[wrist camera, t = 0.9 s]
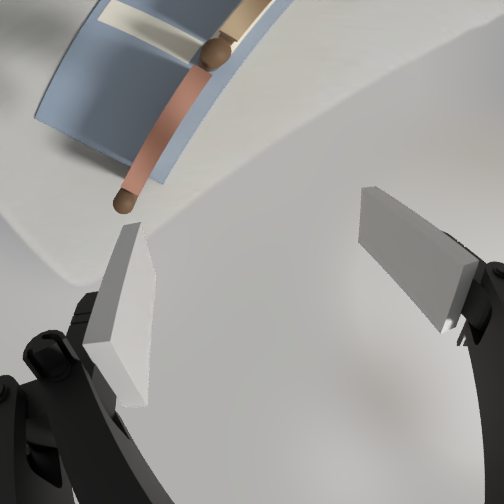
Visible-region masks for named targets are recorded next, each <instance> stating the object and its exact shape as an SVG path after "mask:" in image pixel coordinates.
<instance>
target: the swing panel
mask: <svg viewBox="0 0 504 504" xmlns="http://www.w3.org/2000/svg"><path fill="white" fill-rule="evenodd" d="M211 77H212V74H210V73H209V72H207V71H205V70H203V69H202V68H200V67H198V66H197V65H195V64H194V65H193V66H192V68H191V69H190V70H189V72H188V73H187V75H186V76H185V78H184V79H183V81H182V82H181V84H180V85H179V87H178V88H177V90H176V91H175V93H174V94H173V96H172V97H171V99H170V101H169V102H168V104H167V105H166V107H165V108H164V110H163V112H162V113H161V115H160V117H159V118H158V120H157V122H156V123H155V125H154V127H153V128H152V130H151V132H150V133H149V135H148V137H147V139H146V140H145V142H144V144H143V146H142V148H141V149H140V151H139V153H138V155H137V157H136V158H135V160H134V162H133V164H132V166H131V168H130V170H129V172H128V174H127V176H126V178H125V179H124V181H123V183H122V185H121V189H120V190H119V192H118V193H117V195H116V197H115V198H114V200H113V207H114V209H115V210H116V211H117V212H118V213H120V214H127V213H129V212H131V211H132V209H133V207H134V205H135V202H136V200H137V198H138V196H139V194H140V192H141V190H142V188H143V187H144V185H145V183H146V181H147V179H148V177H149V176H150V174H151V172H152V170H153V168H154V167H155V165H156V163H157V161H158V160H159V158H160V156H161V155H162V153H163V151H164V149H165V148H166V146H167V144H168V143H169V141H170V139H171V138H172V136H173V134H174V133H175V131H176V130H177V128H178V126H179V125H180V123H181V122H182V120H183V118H184V117H185V115H186V114H187V112H188V111H189V109H190V108H191V106H192V105H193V103H194V102H195V100H196V99H197V97H198V96H199V94H200V93H201V91H202V90H203V88H204V87H205V85H206V84H207V82H208V81H209V80H210V78H211Z"/></svg>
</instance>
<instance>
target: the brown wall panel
mask: <svg viewBox="0 0 504 504" xmlns="http://www.w3.org/2000/svg"><path fill="white" fill-rule="evenodd" d="M271 1H272V0H244V1H243V2H242V3H241V4H240V6H239V7H238V8H237V9H236V10H235V12H234V13H233V14H232V15H231V16H230V18H229V19H228V20H227V21H226V22H225V24H224V25H223V26H222V27H221V29H220V30H219V32H220V35H219V36H218V38H213V39H210V40H208V41H207V42H205V43H204V45H203V46H202V49H201V53H200V56H199V60H198V63H199V66H200V68H202V69H203V70H205V71H207V72H212V71H215V70H217V69H218V68H219V67H220V66H222V65H223V64H224V63H225V62H227V61H228V60H229V58H230V56H231V52H232V50H231V45H232V44H233V43H234V42H238V40H239V39H240V38H241V37H242V35H243V34H244V33H245V32H246V30H247V29H248V28H249V27H250V25H251V24H252V23H253V22H254V21H255V19H256V18H257V17H258V16H259V15H260V13H261V12H262V11H263V10H264V9H265V8H266V6H267V5H268V4H269V3H270V2H271Z"/></svg>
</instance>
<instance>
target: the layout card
mask: <svg viewBox="0 0 504 504" xmlns="http://www.w3.org/2000/svg"><path fill="white" fill-rule="evenodd" d="M243 1H244V0H100V2H99V3H98V5H97V6H96V7H95V9H94V10H93V12H92V13H91V15H90V16H89V18H88V19H87V21H86V22H85V24H84V25H83V27H82V28H81V30H80V31H79V33H78V35H77V36H76V38H75V40H74V41H73V43H72V45H71V46H70V48H69V50H68V52H67V53H66V55H65V57H64V59H63V60H62V62H61V64H60V66H59V68H58V70H57V72H56V74H55V76H54V78H53V80H52V82H51V84H50V86H49V88H48V90H47V92H46V94H45V96H44V98H43V101H42V103H41V105H40V107H39V110H38V112H37V114H36V117H35V119H37V120H39V121H41V122H43V123H45V124H47V125H49V126H51V127H53V128H55V129H57V130H58V131H60V132H62V133H64V134H66V135H68V136H70V137H72V138H74V139H76V140H78V141H80V142H82V143H84V144H86V145H88V146H90V147H92V148H94V149H96V150H98V151H100V152H101V153H103V154H105V155H107V156H109V157H111V158H113V159H115V160H117V161H119V162H121V163H123V164H125V165H127V166H128V167H130V168H131V166H132V164H133V162H134V160H135V158H136V157H137V155H138V153H139V151H140V149H141V148H142V146H143V144H144V142H145V140H146V139H147V137H148V135H149V133H150V132H151V130H152V128H153V127H154V125H155V123H156V122H157V120H158V118H159V117H160V115H161V113H162V112H163V110H164V108H165V107H166V105H167V104H168V102H169V101H170V99H171V97H172V96H173V94H174V93H175V91H176V90H177V88H178V87H179V85H180V84H181V82H182V81H183V79H184V78H185V76H186V75H187V73H188V72H189V70H190V69H191V68H192V66H193V65H194V64H195V65H197V66H198V67H200V66H199V63H198V60H199V56H200V53H201V49H202V46H203V45H204V43H205V42H207V41H208V40H210V39H213V38H218V36H219V35H220V32H219V30H220V29H221V27H222V26H223V25H224V24H225V22H226V21H227V20H228V19H229V18H230V16H231V15H232V14H233V13H234V12H235V10H236V9H237V8H238V7H239V6H240V4H241V3H242V2H243ZM293 1H294V0H272V1H271V2H270V3H269V4H268V5H267V6H266V8H265V9H264V10H263V11H262V12H261V13H260V15H259V16H258V17H257V18H256V19H255V21H254V22H253V23H252V24H251V25H250V27H249V28H248V29H247V30H246V32H245V33H244V34H243V35H242V37H241V38H240V39H239V40H238V42H234V43H233V44H232V45H231V50H232V52H231V56H230V58H229V60H228V61H227V62H225V63H224V64H223V65H222V66H220V67H219V68H218V69H217V70H215V71H212V72H209V73H210V74H212V77H211V78H210V80H209V81H208V82H207V84H206V85H205V87H204V88H203V90H202V91H201V93H200V94H199V96H198V97H197V99H196V100H195V102H194V103H193V105H192V106H191V108H190V109H189V111H188V112H187V114H186V115H185V117H184V118H183V120H182V122H181V123H180V125H179V126H178V128H177V130H176V131H175V133H174V134H173V136H172V138H171V139H170V141H169V143H168V144H167V146H166V148H165V149H164V151H163V153H162V155H161V156H160V158H159V160H158V161H157V163H156V165H155V167H154V168H153V170H152V172H151V174H150V176H149V178H151V179H153V180H155V181H157V182H159V183H161V184H164V182H165V180H166V178H167V177H168V175H169V173H170V172H171V170H172V168H173V166H174V165H175V163H176V161H177V160H178V158H179V156H180V155H181V153H182V152H183V150H184V148H185V147H186V145H187V143H188V142H189V140H190V139H191V137H192V136H193V134H194V132H195V131H196V129H197V128H198V126H199V125H200V123H201V122H202V120H203V119H204V117H205V116H206V114H207V113H208V111H209V110H210V108H211V107H212V105H213V104H214V102H215V101H216V99H217V98H218V96H219V95H220V94H221V92H222V91H223V89H224V88H225V86H226V85H227V84H228V82H229V81H230V79H231V78H232V77H233V75H234V74H235V73H236V71H237V70H238V69H239V67H240V66H241V64H242V63H243V62H244V60H245V59H246V58H247V57H248V55H249V54H250V53H251V51H252V50H253V49H254V47H255V46H256V45H257V44H258V42H259V41H260V40H261V39H262V37H263V36H264V35H265V34H266V32H267V31H268V30H269V29H270V27H271V26H272V25H273V24H274V23H275V21H276V20H277V19H278V18H279V17H280V15H281V14H282V13H283V12H284V11H285V10H286V8H287V7H288V6H289V5H290V4H291V3H292V2H293Z"/></svg>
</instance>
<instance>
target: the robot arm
mask: <svg viewBox="0 0 504 504" xmlns="http://www.w3.org/2000/svg"><path fill="white" fill-rule="evenodd" d="M358 242H359V243H360V244H361V245H362V246H363V247H364V248H365V250H366V251H367V252H368V253H369V254H370V255H371V256H372V257H373V258H374V259H375V260H376V261H377V262H378V263H379V264H380V265H381V266H382V267H383V269H384V270H385V271H386V272H387V273H388V274H389V275H390V276H391V277H392V278H393V279H394V281H396V283H397V284H398V285H399V286H400V287H401V288H402V289H403V290H404V292H405V293H406V294H407V295H408V296H409V297H410V298H411V300H412V301H413V302H414V303H415V304H416V305H417V306H418V308H419V309H420V310H421V311H422V312H423V313H424V314H425V315H426V317H427V318H428V319H429V320H430V322H431V323H432V324H433V325H434V326H435V327H436V329H437V330H438V331H439V332H440V333H443V332H445V331H448V330H450V329H452V328H455V327H456V325H457V322H458V320H459V317H460V314H462V315H463V316H464V317H465V318H466V322H465V324H464V327H463V329H462V331H461V333H460V336H459V338H458V340H457V346H460V344H461V342H462V339H463V338H464V337H466V340H465V342H464V344H463V346H468V350H469V354H470V358H471V363H472V368H473V373H474V379H475V384H476V389H477V396H478V402H479V409H480V417H481V425H482V435H483V447H484V464H485V504H504V264H503V263H500V262H490V263H488V264H486V263H485V262H484V261H483V260H481V259H480V258H479V257H478V256H476V255H475V254H474V253H473V252H471V251H470V250H469V249H468V248H466V247H464V245H462V244H461V243H460V242H457V240H456V239H455V238H453V237H452V236H451V235H449V234H448V233H445V232H443V231H441V230H439V229H438V228H437V227H435V226H434V225H432V224H431V223H429V222H428V221H427V220H425V219H424V218H422V217H421V216H420V215H418V214H417V213H415V212H414V211H413V210H411V209H410V208H408V207H407V206H405V205H404V204H402V203H401V202H399V201H398V200H396V199H395V198H393V197H392V196H390V195H389V194H387V193H385V192H384V191H382V190H381V189H379V188H378V187H367V188H362V195H361V213H360V228H359V240H358ZM156 281H157V277H156V274H155V271H154V267H153V264H152V261H151V257H150V254H149V250H148V247H147V243H146V239H145V235H144V232H143V228H142V224H141V222H139V223H134V224H129V225H124V226H123V228H122V230H121V233H120V235H119V238H118V240H117V243H116V245H115V248H114V250H113V253H112V256H111V258H110V261H109V264H108V266H107V269H106V272H105V275H104V277H103V280H102V283H101V286H100V289H99V291H98V292H91V293H86V295H85V296H84V297H83V298H82V299H81V300H80V302H79V303H78V304H77V307H76V310H75V312H74V316H73V318H72V320H71V325H70V326H69V329H68V332H67V335H66V336H65V335H64V334H63V332H60V331H58V330H48V331H45V332H42V333H40V334H39V335H37V336H36V337H34V338H33V339H32V340H31V341H30V342H29V343H28V344H27V346H26V348H25V350H24V352H23V360H24V362H25V363H26V364H27V366H28V367H29V368H30V370H31V371H32V372H33V374H34V375H35V376H36V378H37V380H34V381H31V382H28V383H25V384H22V385H19V384H18V382H17V381H16V380H15V379H14V378H13V377H12V376H10V375H2V376H0V504H75V502H74V497H73V492H72V488H73V491H74V493H75V495H76V497H77V500H78V502H79V504H174V502H173V501H172V500H171V499H170V497H169V495H168V494H167V493H166V491H165V490H164V488H163V487H162V485H161V484H160V483H159V481H158V480H157V478H156V477H155V475H154V473H153V472H152V470H151V469H150V467H149V466H148V464H147V463H146V461H145V459H144V458H143V456H142V455H141V453H140V451H139V450H138V448H137V446H136V445H135V443H134V441H133V439H132V437H131V436H130V434H129V432H128V430H127V428H126V427H125V425H124V423H123V421H122V419H121V417H120V416H119V415H118V413H117V412H116V411H115V406H116V398H117V399H118V400H119V402H120V403H121V405H122V406H123V407H124V408H130V407H143V406H148V384H149V383H148V382H149V363H150V347H151V332H152V319H153V309H154V299H155V290H156Z"/></svg>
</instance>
